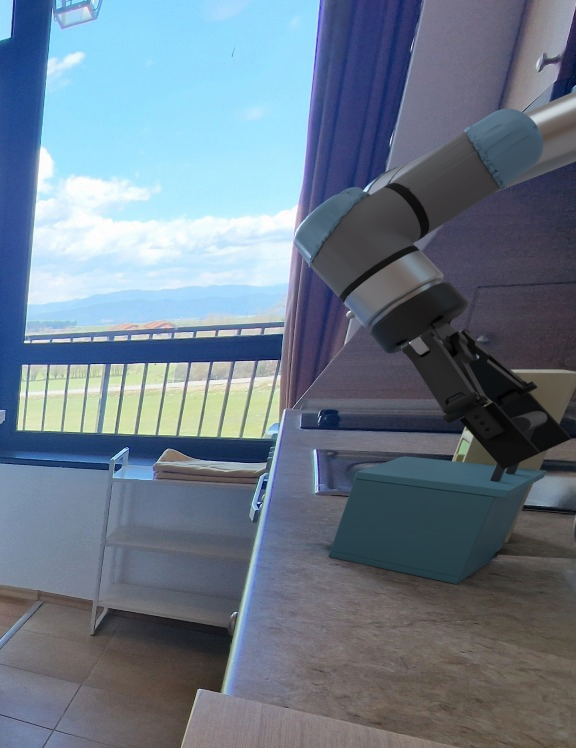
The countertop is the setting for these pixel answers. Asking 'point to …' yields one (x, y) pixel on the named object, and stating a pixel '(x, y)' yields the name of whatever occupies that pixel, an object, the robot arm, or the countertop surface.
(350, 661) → the countertop surface
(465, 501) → the teal storage box
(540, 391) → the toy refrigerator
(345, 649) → the countertop surface
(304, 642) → the countertop surface
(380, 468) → the lid
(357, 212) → the robot arm
